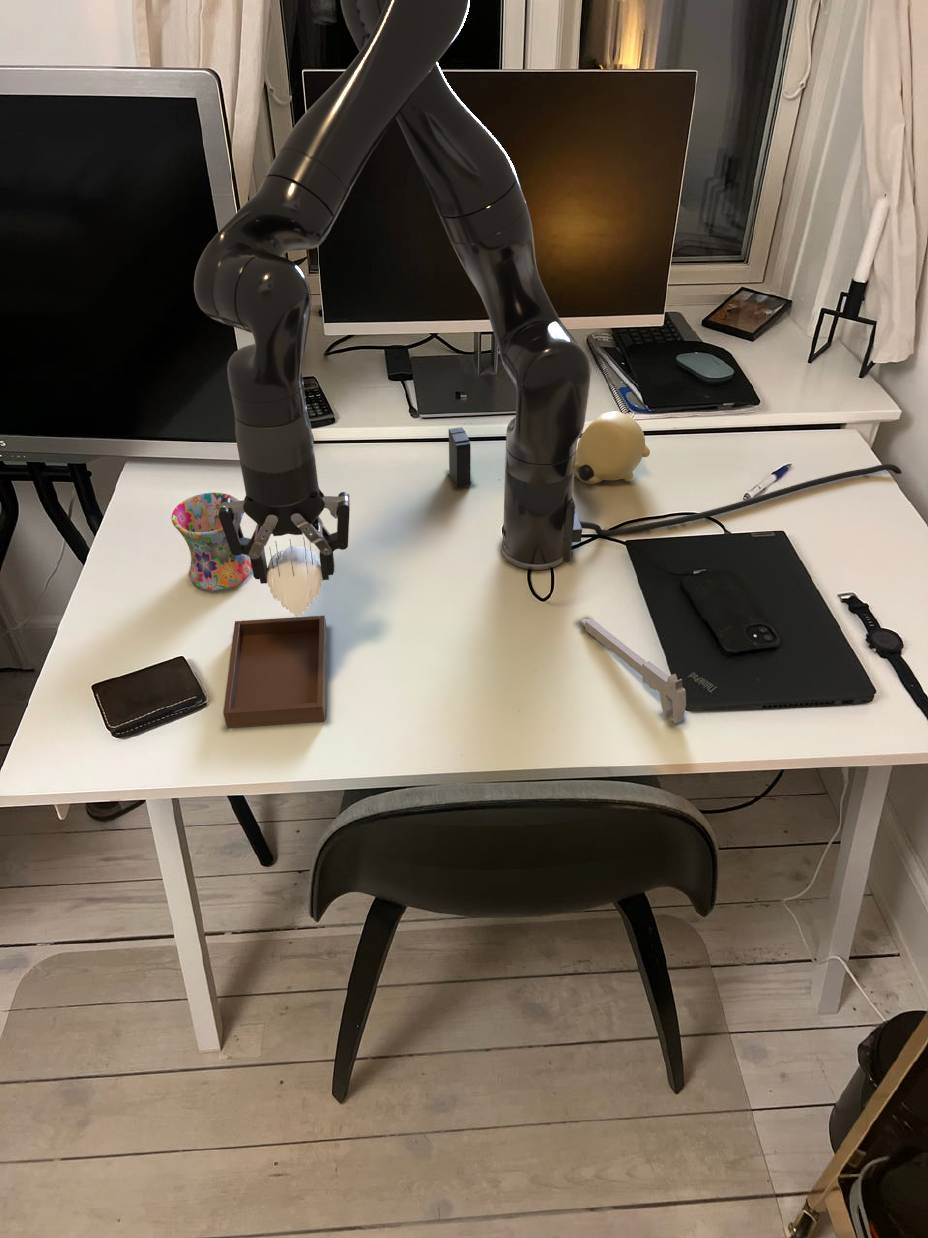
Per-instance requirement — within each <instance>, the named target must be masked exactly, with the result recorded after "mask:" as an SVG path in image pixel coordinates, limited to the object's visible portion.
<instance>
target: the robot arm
mask: <svg viewBox="0 0 928 1238" xmlns="http://www.w3.org/2000/svg"><path fill="white" fill-rule="evenodd" d="M340 5H341V11H342V14H343V19H344V21H345V24H346V27H347V30H348V31H349V33H350V37H352V38H351V39H352V40H353V42H354V44H355V46H356V48H357V50H358V54H357V55H356V56H355V57H354V59H353V60H352V62H351V63H350V64H349V65H348V67H347V68H346V69H345V70H344V71H343V73H342V74H340V76H339V77H338V78H337V79H336V80H335V81H334V82H333V83H332V84H331V85H330V87H329V88H328V89H327V90H326V91H325V92H324V93H323V94H322V95H320V97H319V98H318V99H317V100H316V101H315V102H314V103H313V104H312V105H311V107H309V108H308V109H307V110H306V112H305V113H304V114H303V115H302V117H300V119H299V120H298V121H297V122H296V124H295V125H294V126H293V127H292V129H291V130H290V132H289V134H288V135H287V137H286V139H285V140H284V142H283V143H282V145H281V147H280V149H279V151H278V153H277V154H276V156H275V157H274V160H273V162H272V164H271V165H270V168H269V169H268V171H267V172H266V175H265V176H264V178H263V181H262V183H261V184H260V187H259V189H258V191H257V192H256V193H255V194H254V195H253V196H252V197H251V198H250V199H249V200H248V201H247V202H246V203H244V204H243V206H241V207H240V208H239V209H238V211H237V212H236V213H235V214H233V216H231V218H230V219H229V220H228V221H227V222H226V224H224V225H223V227H222V228H221V229H219V231H218V232H217V233H216V234H215V235H214V236H213V238H212V239H211V240H210V241H209V242H208V244H207V245H206V246H205V248H204V250H203V251H202V252H201V255H200V257H199V260H198V261H197V264H196V267H195V271H194V276H193V277H194V278H193V293H194V298H195V300H196V303H197V305H198V308H199V309H200V310H201V311H202V312H203V314H204V315H206V316H207V317H208V318H209V319H212V320H213V321H215V322H218V323H220V324H224V325H227V326H228V327H229V326H230V327H233V328H236V329H239V330H241V331H245V332H247V333H251V334H252V336H253V340H254V343H253V344H249V345H245V346H243V347H240V348H238V349H237V350H235V351H234V352H233V353H232V354H231V356H230V358H229V359H228V362H227V368H226V373H227V375H226V376H227V383H228V388H229V393H230V399H231V400H230V401H231V406H232V410H233V417H234V436H235V441H236V448H237V452H238V459H239V465H240V470H241V474H242V475H241V476H242V480H243V485H244V491H245V496H244V499H242V500H239V501H235V502H232V501H231V500H230V499H229V498H223V499H222V500H221V502H220V508H219V514H218V516H219V519H220V522H221V525H222V528H223V530H224V533H225V536H226V539H227V542H228V545H229V547H230V550H231V553H232V554H233V555H236V556H238V555H241V554H245V555H246V556H247V557H248V558H249V560H250V562H251V571H252V576H253V578H254V579H255V580H259V583H260V584H268V581H267V568H268V564H267V557H266V552H265V547H266V546H267V544H268V542H269V539H270V538H271V536H273V537H281V536H286V535H291V536H303V535H304V536H305V537H306V538H307V540H308V541H309V543H310V544H314V545H315V547H316V548H317V550H318V551H319V561H320V564H321V572H322V578H323V580H322V581H329V580H330V576H333V575H334V573H335V556H334V552H335V551H337V550H341V551H344V550H347V549H348V547H349V534H350V533H349V531H350V511H351V510H350V509H351V507H350V505H351V504H350V503H351V502H350V501H351V500H350V494H349V493H348V492H347V491H341V492H339V493H338V496H337V495H336V496H334V495H325V494H324V493H323V492H322V490H321V489H320V486H319V478H318V472H317V471H318V470H317V463H316V454H315V448H314V443H315V438H314V434H313V430H312V429H313V428H312V424H311V420H310V416H309V413H308V408H307V403H306V402H307V401H306V394H305V386H304V377H303V365H304V358H305V352H306V346H307V339H308V334H309V333H308V332H309V325H310V320H311V316H312V305H313V304H312V302H313V300H312V299H313V298H312V292H311V288H310V285H309V282H308V280H307V278H306V275H305V274H304V272H303V270H302V269H301V267H299V265H298V264H296V263H295V262H294V261H293V260H290V259H289V258H287V257H283V255H285V254H287V253H289V252H294V251H306V250H312V249H316V248H318V247H320V246H321V245H322V244H323V243H324V241H325V240H326V238H327V236H328V235H329V233H330V231H331V230H332V228H333V226H334V224H335V222H336V220H337V218H338V216H339V215H340V212H341V211H342V209H343V207H344V205H345V203H346V201H347V199H348V197H349V195H350V193H351V192H352V190H353V188H354V186H355V184H356V182H357V180H358V178H359V177H360V175H361V173H362V171H363V169H364V168H365V166H366V164H367V163H368V161H369V159H370V157H371V156H372V154H373V152H374V151H375V150H376V148H377V146H378V145H379V144H380V142H381V140H382V139H383V137H384V135H385V134H386V133H387V131H388V130H389V128H390V127H391V125H392V124H393V123H394V121H395V120H396V121H397V124H398V125H399V127H400V129H401V132H402V134H403V136H404V138H405V141H406V143H407V145H408V148H409V149H410V152H411V154H412V156H413V159H414V161H415V163H416V165H417V167H418V169H419V171H420V173H421V176H422V178H423V180H424V182H425V185H426V187H427V189H428V192H429V194H430V196H431V199H432V202H433V204H434V208H435V210H436V212H437V215H438V216H439V219H440V222H441V225H442V226H443V228H444V230H445V233H446V235H447V237H448V239H449V242H450V244H451V246H452V248H453V250H454V252H455V253H456V256H457V258H458V260H459V262H460V264H461V265H462V267H463V270H464V271H465V273H466V275H467V276H468V278H469V280H470V281H471V283H472V284H473V286H474V287H475V289H476V291H477V293H478V295H479V296H480V298H481V300H482V302H483V305H484V308H485V310H486V313H487V316H488V319H489V323H490V325H491V328H492V329H491V330H492V332H493V335H494V338H495V342H496V346H497V349H498V353H499V356H500V360H501V363H502V367H503V369H504V372H505V373H506V375H507V377H508V379H509V381H510V382H511V384H512V385H513V387H514V389H515V390H516V404H515V405H516V406H515V417H513V418H512V419H511V420H510V421H509V423H508V424H507V427H506V434H505V458H504V459H505V461H504V463H505V465H504V466H505V467H504V493H503V494H504V495H503V522H502V534H501V535H502V542H501V552H502V555H503V557H504V558H505V559H506V561H508V562H509V563H511V564H512V565H514V566H516V567H519V568H521V569H525V570H531V571H543V570H548V569H552V568H555V567H557V566H559V565H560V564H562V563H564V562H570V561H571V558H572V557H571V556H572V547H573V543H581V542H582V536H583V529H586V530H587V529H589V530H593V531H595V533H596V535H599V536H601V537H615V536H623V535H630V534H634V533H639V532H643V531H648V530H653V529H658V528H665V527H670V526H675V525H680V524H684V523H689V522H693V521H697V520H702V519H706V518H710V517H714V516H718V515H722V514H725V513H728V512H732V511H734V510H739V509H742V508H746V507H749V506H753V505H755V504H759V503H761V502H765V501H768V500H771V499H774V498H777V497H781V496H784V495H787V494H790V493H795V492H798V491H801V490H805V489H808V488H811V487H815V486H818V485H823V484H828V483H831V482H835V481H839V480H843V479H847V478H852V477H859V476H864V475H869V474H870V475H871V474H874V473H877V472H883V471H892V472H893V473H894V474H897V475H901V474H902V470H901V469H900V468H899V466H897V465H895V464H893V463H884V464H878V465H875V466H871V467H870V466H869V467H865V468H860V469H859V468H858V469H854V470H853V469H852V470H847V471H844V472H839V473H834V474H831V475H827V476H823V477H820V478H819V477H818V478H814V479H811V480H807V481H805V482H800V483H797V484H794V485H791V486H788V487H783V488H780V489H777V490H774V491H771V492H767V493H764V494H761V495H758V496H754V497H751V498H748V499H745V500H742V501H737V502H735V503H730V504H728V505H724V506H720V507H717V508H713V509H709V510H705V511H701V512H697V513H693V514H688V515H683V516H678V517H673V518H668V519H663V520H658V521H652V522H647V523H646V522H645V523H642V524H638V525H633V526H629V527H624V528H618V529H602V527H601V526H600V525H599V524H598V523H595V522H590V521H581V520H580V518H579V515H578V511H577V508H576V503H575V500H574V496H573V492H574V479H575V473H574V469H575V458H576V450H577V447H578V441H579V440H580V438H581V436H582V434H583V432H584V427H585V423H586V416H587V408H588V401H589V394H590V383H591V366H590V360H589V357H588V355H587V354H586V352H585V350H584V349H583V348H582V346H581V345H580V344H579V343H578V342H577V340H576V339H575V338H574V336H573V335H572V334H571V333H570V331H569V330H568V329H567V327H566V326H565V324H564V323H563V321H562V320H561V319H560V317H559V315H558V313H557V312H556V310H555V307H554V306H553V303H552V301H551V300H550V298H549V296H548V293H547V291H546V289H545V287H544V284H543V282H542V279H541V276H540V274H539V273H540V272H539V270H538V266H537V265H538V264H537V257H536V244H535V235H534V229H533V228H534V227H533V222H532V217H531V213H530V210H529V206H528V203H527V200H526V198H525V195H524V192H523V190H522V187H521V184H520V181H519V178H518V175H517V173H516V169H515V167H514V165H513V163H512V161H511V160H510V159H511V158H510V157H509V156H508V154H507V152H506V151H505V149H504V148H503V147H502V145H501V144H500V142H499V141H498V140H497V139H496V137H494V135H492V133H491V132H490V130H488V129H487V127H486V126H484V124H482V122H481V121H480V120H479V119H478V117H476V116H475V115H474V114H473V113H472V112H471V111H470V109H469V108H468V107H467V106H466V105H465V104H464V103H463V101H461V99H460V98H459V97H458V96H457V94H456V93H455V91H453V89H452V88H451V86H450V85H449V83H448V82H447V79H446V78H445V76H444V74H443V71H442V70H441V67H440V66H439V61H440V59H441V58H442V57H443V56H444V54H445V53H446V51H447V50H448V49H449V48H450V46H451V45H452V44H453V42H454V41H455V39H456V38H457V37H458V35H459V33H460V32H461V29H462V28H463V26H464V23H465V21H466V18H467V15H468V12H469V8H470V0H340ZM324 509H327V510H328V511H329V513H330V515H331V516H332V517H333V518H334V519H336V531H335V532H332V533H330V532H329V531H328V529H327V528H326V527H325V525H324V523H323V521H322V519H321V517H320V516H321V514H322V512H323V511H324ZM242 513H243V514H244V513H245V514H246V515H247V516H248V517H249V518H250V519H251V520H252V521H253V522H254V523H256V524H255V529H254V531H253V533H252V536H251V537H250V538H249V537H245V536H244V533H243V530H242V528H241V523H240V524H239V521H240V520H241V514H242ZM241 521H242V520H241Z"/></svg>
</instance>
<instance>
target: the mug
mask: <svg viewBox="0 0 928 1238" xmlns="http://www.w3.org/2000/svg"><path fill="white" fill-rule="evenodd" d="M223 498H229V499H230V500H231V501H232V502H235V501H240V499H238V498H237V497H235V496H234V495H231V494H228V493H223V492H206V493H200V494H196V495H193V496H191V497H188V498H185V500H182V501H181V502H180V503H179V504H177V505H176V506H175V508H174V509H173V511H172V513H171V522H172V525H173V527H174V528H175V529H176V530H177V531H178V532H179V533H180V534H181V536H182V537H183V539H184V541H185V542H186V545H187V547H188V551H189V554H190V567H189V569H188V578H189V580H190V582H192V584H193V585H195V586H196V587H198V588H200V589H203V590H206V591H224V590H228V589H232V588H234V587H237V586H239V585H240V584H241V583H243V582H244V581H245V580H246V579H247V578H248V577H249V575H250V574H251V571H252V566H251V560H250V558H249V556H247V555H245V554H241V555H238V556H236V555H233V554H232V553H231V550H230V547H229V545H228V542H227V539H226V536H225V533H224V530H223V528H222V525H221V522H220V519H219V516H218V514H219V508H220V502H221V500H222V499H223ZM243 516H244V513H242V514H241V520H240V521H239V524H240V525H241V523H242V519H243Z"/></svg>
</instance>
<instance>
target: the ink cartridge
mask: <svg viewBox="0 0 928 1238" xmlns="http://www.w3.org/2000/svg"><path fill="white" fill-rule="evenodd" d="M471 449H472V448H471V442H470V439H469V437H468V435H467V433H466V431H465V429H464V428H463V427H462V426H461V427H454V428H448V470H449V471H448V472H449V474H450V477H451V479H452V481H453V483H454V485H455V488H456V489H457V488H465V487H470V486H471V484H472V481H471V459H472V458H471V457H472V456H471V455H472V454H471Z"/></svg>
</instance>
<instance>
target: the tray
mask: <svg viewBox="0 0 928 1238" xmlns="http://www.w3.org/2000/svg"><path fill="white" fill-rule="evenodd" d="M326 621H327V619H326V615H309V616H294V617H293V616H292V617H279V618H278V617H277V618H264V619H263V618H262V619H248V620H247V619H245V620H235V621H234V625H233V633H232V641H231V648H230V655H229V665H228V672H227V682H226V687H225V697H224V703H223V711H222V714H223V719H224V722H225V726H226V729H237V728H251V727H264V726H279V725H292V724H293V725H294V724H305V723H306V724H308V723H321V722H322V723H323V722H326V701H327V700H326V697H327V695H326V694H327V693H326V691H327V651H328V650H327V644H328V643H327V640H328V635H327V634H328V627H327V622H326Z"/></svg>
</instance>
